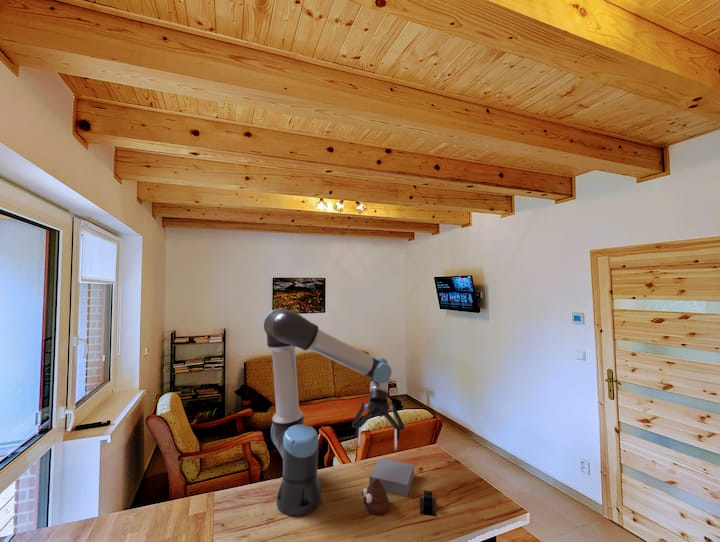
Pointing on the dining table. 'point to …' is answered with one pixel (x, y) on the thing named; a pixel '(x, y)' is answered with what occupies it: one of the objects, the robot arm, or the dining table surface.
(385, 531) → the dining table surface
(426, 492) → the black mounting bracket
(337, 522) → the dining table surface
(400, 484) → the grey block
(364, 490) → the poop emoji
